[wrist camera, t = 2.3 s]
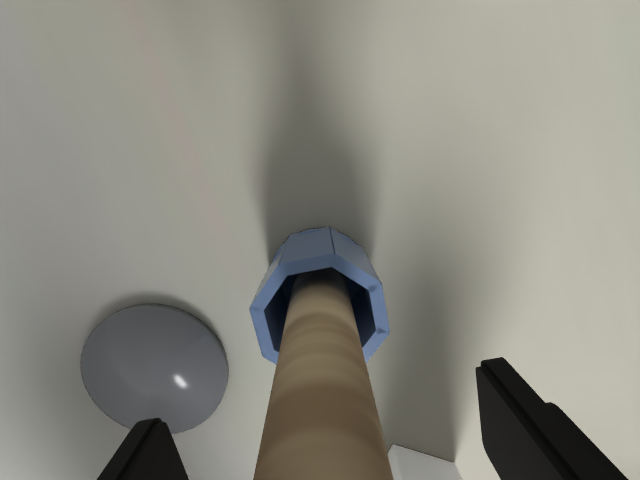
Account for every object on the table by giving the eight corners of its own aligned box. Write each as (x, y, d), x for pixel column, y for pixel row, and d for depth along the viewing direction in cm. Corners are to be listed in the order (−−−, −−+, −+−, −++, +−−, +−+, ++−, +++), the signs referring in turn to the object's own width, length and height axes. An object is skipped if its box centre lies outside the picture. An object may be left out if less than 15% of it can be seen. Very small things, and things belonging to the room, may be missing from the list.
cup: (375, 310, 25) (397, 367, 18) (283, 328, 25) (269, 390, 18) (359, 218, 23) (376, 242, 16) (260, 238, 23) (236, 270, 16)
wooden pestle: (348, 297, 23) (441, 693, 6) (300, 306, 24) (250, 720, 6) (339, 250, 23) (415, 550, 5) (289, 260, 23) (196, 584, 5)
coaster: (243, 413, 27) (241, 421, 26) (116, 436, 27) (110, 444, 26) (206, 291, 24) (202, 295, 23) (66, 318, 25) (58, 323, 24)
